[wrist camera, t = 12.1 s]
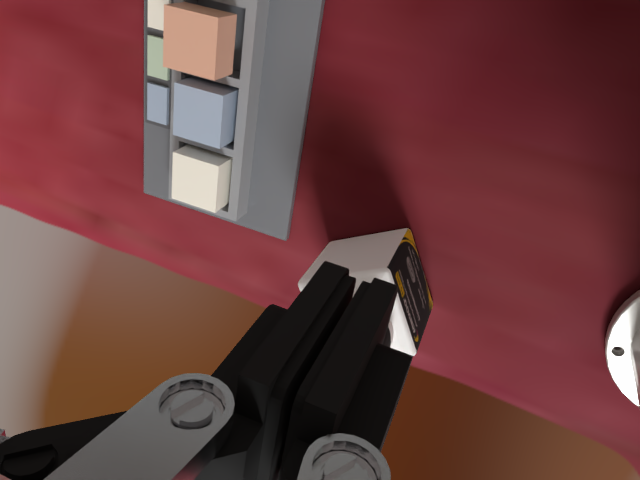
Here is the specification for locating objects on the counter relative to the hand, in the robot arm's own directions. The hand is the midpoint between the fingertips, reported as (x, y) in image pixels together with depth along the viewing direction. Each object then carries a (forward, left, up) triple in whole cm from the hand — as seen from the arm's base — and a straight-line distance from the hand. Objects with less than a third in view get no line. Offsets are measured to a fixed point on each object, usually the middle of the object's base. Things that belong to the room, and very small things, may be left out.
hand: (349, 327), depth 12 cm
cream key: (+7, +21, -28) cm, 36 cm away
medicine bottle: (-8, +15, -29) cm, 34 cm away
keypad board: (+12, +15, -29) cm, 35 cm away
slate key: (+10, +17, -28) cm, 34 cm away
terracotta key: (+14, +13, -26) cm, 32 cm away
